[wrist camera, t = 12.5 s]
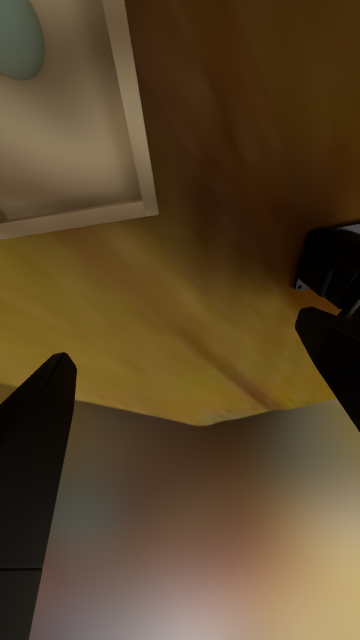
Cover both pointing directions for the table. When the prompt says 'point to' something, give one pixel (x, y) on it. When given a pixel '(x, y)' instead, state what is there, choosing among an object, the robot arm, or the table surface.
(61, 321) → the table surface
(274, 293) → the table surface
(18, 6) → the pin
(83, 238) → the table surface
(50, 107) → the tray
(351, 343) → the robot arm
